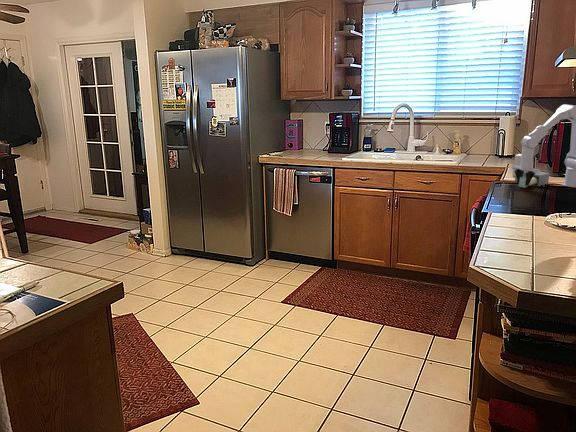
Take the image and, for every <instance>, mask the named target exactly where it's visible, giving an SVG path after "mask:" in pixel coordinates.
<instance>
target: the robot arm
mask: <svg viewBox="0 0 576 432" xmlns="http://www.w3.org/2000/svg"><path fill="white" fill-rule="evenodd" d="M561 120H568V121H570V122H571V132H570V146H569V151H568V153H566V157H565V159H564V161H563V163H564V165H565V169H566V170H565V176H564V182H563V183H561V184H560V186H564V187H565V186H566V187H570V188H576V105H573V104H567V103H564V104H562V105H560V106H559V107H557V109H556V110H555V113H554V114H552V116H550V118H549V119H547V121H546V122H544V124H542V125H541V124H540V125H538V126H536V127H535V129H533V130H532V132H530V133H528V135H525V136H523V138H522V139H521V140H520V145H521V153H520V154H521V161H520V166H517V165H514V164H513V165H511V170H513V169H516V171H515V174H516V176H517V181H518V182H517V184H518V185H519V180H520V177H522V176H523V173H524V171H527V173H526V183H525V185H526V186H527V187H528V186H530V185H529V183H530V181H531V179H532V178H533V176H534V175H535V173H536V174H538V173H539V172H541V170H540V169H538V168H534V167H533V162H534V161H533V160H534V154H535V148H536V147H537V146H538V145H539V142H540V141H541V140H542V139H543V138H544V137H546V135H547V134H549V130H550V129H551V128H552V127H553V126H554V125H556V124H558V123H559V122H560V121H561Z"/></svg>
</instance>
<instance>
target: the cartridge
mask: <svg viewBox="0 0 576 432" xmlns="http://www.w3.org/2000/svg"><path fill="white" fill-rule="evenodd" d="M525 183H526V177H520V180H519V184H518V187H520V188H525V189H526V188H528V186H534V185H533V184H537V183H538V178H537V177H533V178H532V179H531V181H530V183H529V185H528V186H526V185H525Z"/></svg>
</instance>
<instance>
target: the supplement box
mask: <svg viewBox="0 0 576 432" xmlns="http://www.w3.org/2000/svg"><path fill="white" fill-rule="evenodd" d="M521 154H522V153H517V154H516V155H514V162H513V165H517V166H520V161H521ZM515 171H516V169H512V177H514V178H515V175H516V174H515Z"/></svg>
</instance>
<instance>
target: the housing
mask: <svg viewBox="0 0 576 432" xmlns="http://www.w3.org/2000/svg"><path fill="white" fill-rule="evenodd" d="M526 173H527V172H525V171H524V173H523V176H522V177H526ZM533 177H537V178H538V184H533V185H532V186H536V187H542V186H545V184H546V185H548V184H549V181H550V172H543V171H540V172H539V173H538V174H536V173H535V175H534V176H533ZM514 182H516V183H518V181H517V176H516V175H515V177H514ZM541 185H542V186H541Z"/></svg>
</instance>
